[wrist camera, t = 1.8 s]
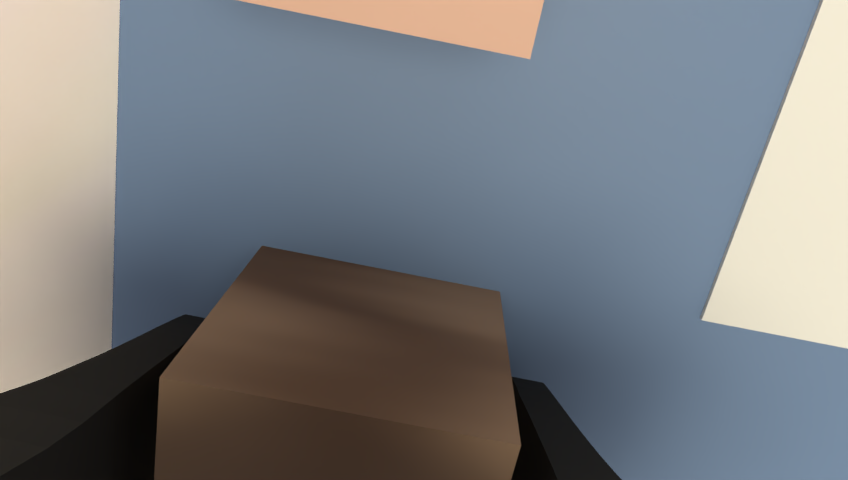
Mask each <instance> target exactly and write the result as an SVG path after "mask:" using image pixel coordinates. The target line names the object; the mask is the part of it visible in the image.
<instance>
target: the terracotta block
mask: <svg viewBox="0 0 848 480" xmlns="http://www.w3.org/2000/svg"><path fill="white" fill-rule="evenodd" d="M238 1H243V2H248V3H253V4H258V5H263V6H268V7H273V8H278V9H283V10H288V11H293V12H298V13H303V14H308V15H313V16H318V17H323V18H328V19H333V20H338V21H342V22H347V23H352V24H357V25H362V26H367V27H372V28H377V29H382V30H387V31H392V32H397V33H402V34H407V35H412V36H417V37H422V38H427V39H432V40H437V41H442V42H447V43H452V44H457V45H462V46H467V47H472V48H477V49H482V50H487V51H492V52H497V53H502V54H507V55H512V56H517V57H522V58H527V59H530V57H531V53H532V49H533V45H534V41H535V37H536V32H537V28H538V24H539V20H540V16H541V11H542V7H543V3H544V0H238Z"/></svg>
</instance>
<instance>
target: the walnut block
mask: <svg viewBox="0 0 848 480" xmlns="http://www.w3.org/2000/svg"><path fill="white" fill-rule="evenodd" d="M520 447H521V441H520V434H519V427H518V419H517V412H516V405H515V398H514V390H513V383H512V376H511V369H510V361H509V354H508V347H507V340H506V333H505V325H504V318H503V311H502V304H501V296H500V292H499V291H494V290H489V289H484V288H479V287H473V286H468V285H463V284H458V283H453V282H448V281H442V280H437V279H432V278H427V277H422V276H417V275H412V274H406V273H401V272H396V271H391V270H386V269H381V268H375V267H370V266H365V265H360V264H355V263H350V262H344V261H339V260H334V259H329V258H324V257H319V256H313V255H308V254H303V253H298V252H293V251H288V250H282V249H277V248H272V247H267V246H261V247H260V249H259V250H258V251H257V253H256V254H255V255H254V256H253V258H252V259H251V260H250V262H249V263H248V264H247V265H246V267H245V268H244V269H243V271H242V272H241V273H240V274H239V276H238V277H237V278H236V280H235V281H234V282H233V283H232V285H231V286H230V287H229V289H228V290H227V291H226V292H225V294H224V295H223V296H222V298H221V299H220V300H219V301H218V303H217V304H216V305H215V307H214V308H213V309H212V310H211V312H210V313H209V314H208V316H207V317H206V318H205V319H204V321H203V322H202V323H201V325H200V326H199V327H198V328H197V330H196V331H195V332H194V334H193V335H192V336H191V337H190V339H189V340H188V341H187V343H186V344H185V345H184V346H183V348H182V349H181V350H180V352H179V353H178V354H177V355H176V357H175V358H174V359H173V361H172V362H171V363H170V364H169V366H168V367H167V368H166V370H165V371H164V372H163V373H162V375H161V376H160V379H159V397H158V415H157V434H156V452H155V470H154V480H511V478H512V475H513V471H514V468H515V465H516V461H517V458H518V454H519V451H520Z"/></svg>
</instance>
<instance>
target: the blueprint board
mask: <svg viewBox="0 0 848 480" xmlns="http://www.w3.org/2000/svg"><path fill="white" fill-rule="evenodd" d="M261 246H267V247H272V248H277V249H282V250H288V251H293V252H298V253H303V254H308V255H313V256H319V257H324V258H329V259H334V260H339V261H344V262H350V263H355V264H360V265H365V266H370V267H375V268H381V269H386V270H391V271H396V272H401V273H406V274H412V275H417V276H422V277H427V278H432V279H437V280H442V281H448V282H453V283H458V284H463V285H468V286H473V287H479V288H484V289H489V290H494V291H499V292H500V296H501V304H502V311H503V318H504V325H505V333H506V340H507V347H508V354H509V361H510V369H511V376H512V377H516V378H522V379H527V380H532V381H537V382H542V383H544V384H545V385H546V386H547V388H548V389H549V390H550V391H551V393H552V394H553V395H554V397H555V398H556V399H557V401H558V402H559V403H560V405H561V406H562V407H563V409H564V410H565V411H566V413H567V414H568V415H569V417H570V418H571V419H572V421H573V422H574V423H575V425H576V426H577V427H578V428H579V430H580V431H581V432H582V434H583V435H584V436H585V437H586V439H587V440H588V441H589V442H590V444H591V445H592V446H593V447H594V448H595V450H596V451H597V452H598V453H599V455H600V456H601V457H602V458H603V459H604V460H605V462H606V463H607V464H608V465H609V466H610V467H611V468H612V469H613V471H614V472H615V473H616V474H617V475H618V476H619V477H620V478H621V479H622V480H848V0H544V3H543V7H542V11H541V16H540V20H539V24H538V28H537V32H536V37H535V41H534V45H533V49H532V53H531V57H530V59H527V58H522V57H517V56H512V55H507V54H502V53H497V52H492V51H487V50H482V49H477V48H472V47H467V46H462V45H457V44H452V43H447V42H442V41H437V40H432V39H427V38H422V37H417V36H412V35H407V34H402V33H397V32H392V31H387V30H382V29H377V28H372V27H367V26H362V25H357V24H352V23H347V22H342V21H338V20H333V19H328V18H323V17H318V16H313V15H308V14H303V13H298V12H293V11H288V10H283V9H278V8H273V7H268V6H263V5H258V4H253V3H248V2H243V1H238V0H120V28H119V69H118V111H117V152H116V194H115V235H114V277H113V318H112V349H113V348H115V347H117V346H119V345H121V344H123V343H125V342H128V341H130V340H132V339H134V338H136V337H138V336H140V335H142V334H144V333H146V332H148V331H150V330H152V329H154V328H156V327H158V326H160V325H162V324H164V323H166V322H169V321H171V320H173V319H175V318H177V317H180V316H182V315H185V314H187V315H192V316H197V317H202V318H206V317H207V316H208V314H209V313H210V312H211V310H212V309H213V308H214V307H215V305H216V304H217V303H218V301H219V300H220V299H221V298H222V296H223V295H224V294H225V292H226V291H227V290H228V289H229V287H230V286H231V285H232V283H233V282H234V281H235V280H236V278H237V277H238V276H239V274H240V273H241V272H242V271H243V269H244V268H245V267H246V265H247V264H248V263H249V262H250V260H251V259H252V258H253V256H254V255H255V254H256V253H257V251H258V250H259V249H260V247H261Z"/></svg>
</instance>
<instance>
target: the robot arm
mask: <svg viewBox="0 0 848 480" xmlns="http://www.w3.org/2000/svg"><path fill="white" fill-rule="evenodd" d="M204 319H205V318H202V317H197V316H192V315H187V314H185V315H182V316H180V317H177V318H175V319H173V320H171V321H169V322H166V323H164V324H162V325H160V326H158V327H156V328H154V329H152V330H150V331H148V332H146V333H144V334H142V335H140V336H138V337H136V338H134V339H132V340H130V341H128V342H125V343H123V344H121V345H119V346H117V347H115V348H113V349H111V350H109V351H107V352H105V353H102V354H100V355H98V356H96V357H93V358H91V359H89V360H86V361H84V362H82V363H79V364H77V365H75V366H72V367H70V368H68V369H65V370H63V371H60V372H58V373H56V374H53V375H51V376H49V377H46V378H43V379H41V380H38V381H35V382H33V383H30V384H27V385H24V386H21V387H19V388H15V389H12V390H9V391H6V392H3V393H0V480H154V470H155V452H156V434H157V415H158V397H159V379H160V376H161V375H162V373H163V372H164V371H165V370H166V368H167V367H168V366H169V364H170V363H171V362H172V361H173V359H174V358H175V357H176V355H177V354H178V353H179V352H180V350H181V349H182V348H183V346H184V345H185V344H186V343H187V341H188V340H189V339H190V337H191V336H192V335H193V334H194V332H195V331H196V330H197V328H198V327H199V326H200V325H201V323H202V322H203V321H204ZM512 383H513V390H514V398H515V405H516V412H517V419H518V427H519V434H520V441H521V447H520V451H519V454H518V458H517V461H516V465H515V468H514V471H513V475H512V478H511V480H622V479H621V478H620V477H619V476H618V475H617V474H616V473H615V472H614V471H613V469H612V468H611V467H610V466H609V465H608V464H607V463H606V462H605V460H604V459H603V458H602V457H601V456H600V455H599V453H598V452H597V451H596V450H595V448H594V447H593V446H592V445H591V444H590V442H589V441H588V440H587V439H586V437H585V436H584V435H583V434H582V432H581V431H580V430H579V428H578V427H577V426H576V425H575V423H574V422H573V421H572V419H571V418H570V417H569V415H568V414H567V413H566V411H565V410H564V409H563V407H562V406H561V405H560V403H559V402H558V401H557V399H556V398H555V397H554V395H553V394H552V393H551V391H550V390H549V389H548V388H547V386H546V385H545V384H544V383H542V382H537V381H532V380H527V379H522V378H516V377H512Z"/></svg>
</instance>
